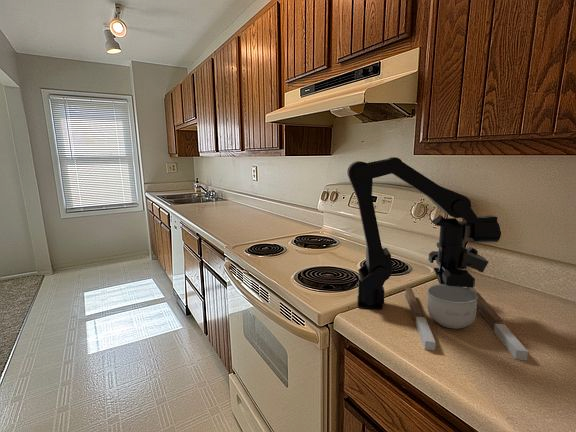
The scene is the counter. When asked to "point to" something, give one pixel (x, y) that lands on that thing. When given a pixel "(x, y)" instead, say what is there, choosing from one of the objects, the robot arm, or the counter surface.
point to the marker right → (510, 342)
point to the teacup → (452, 305)
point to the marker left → (425, 333)
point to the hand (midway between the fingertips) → (446, 297)
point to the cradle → (481, 305)
